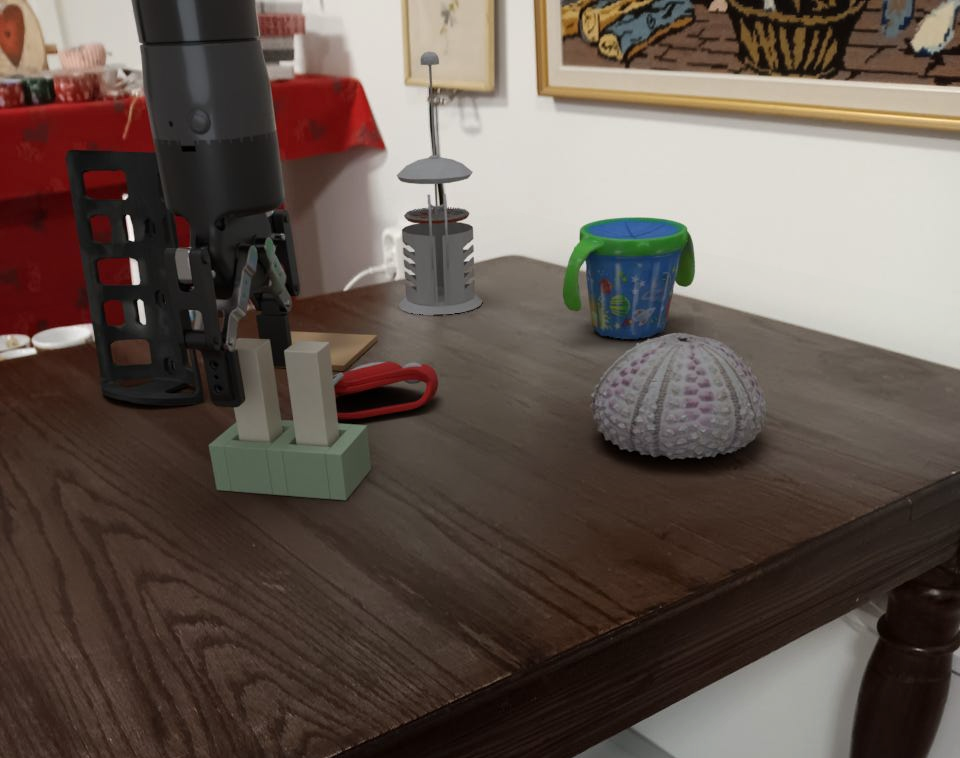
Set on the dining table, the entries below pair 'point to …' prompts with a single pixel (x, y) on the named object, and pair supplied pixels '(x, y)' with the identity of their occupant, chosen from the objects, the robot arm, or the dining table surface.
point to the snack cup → (630, 273)
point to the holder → (147, 249)
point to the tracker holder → (381, 376)
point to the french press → (437, 237)
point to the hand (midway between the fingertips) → (255, 384)
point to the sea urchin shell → (679, 399)
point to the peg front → (312, 393)
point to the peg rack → (292, 464)
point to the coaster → (339, 346)
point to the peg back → (258, 393)
